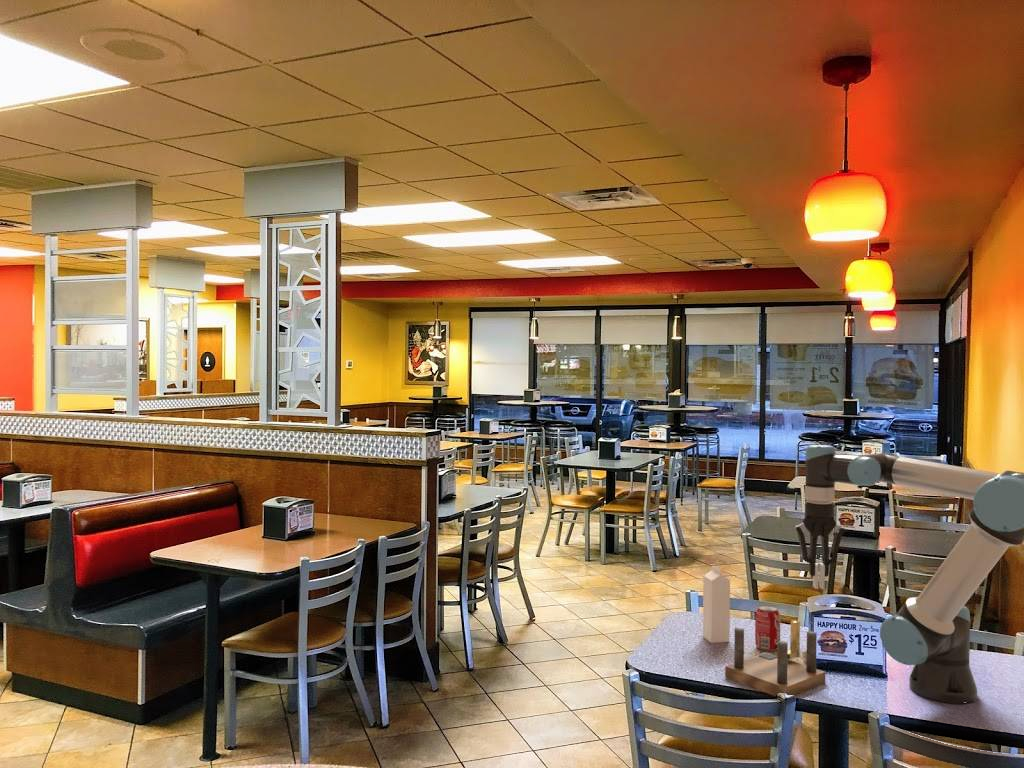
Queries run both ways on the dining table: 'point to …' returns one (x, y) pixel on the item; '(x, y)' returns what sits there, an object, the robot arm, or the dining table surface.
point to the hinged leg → (794, 640)
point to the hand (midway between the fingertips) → (818, 587)
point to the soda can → (767, 627)
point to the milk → (716, 606)
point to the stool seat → (775, 668)
